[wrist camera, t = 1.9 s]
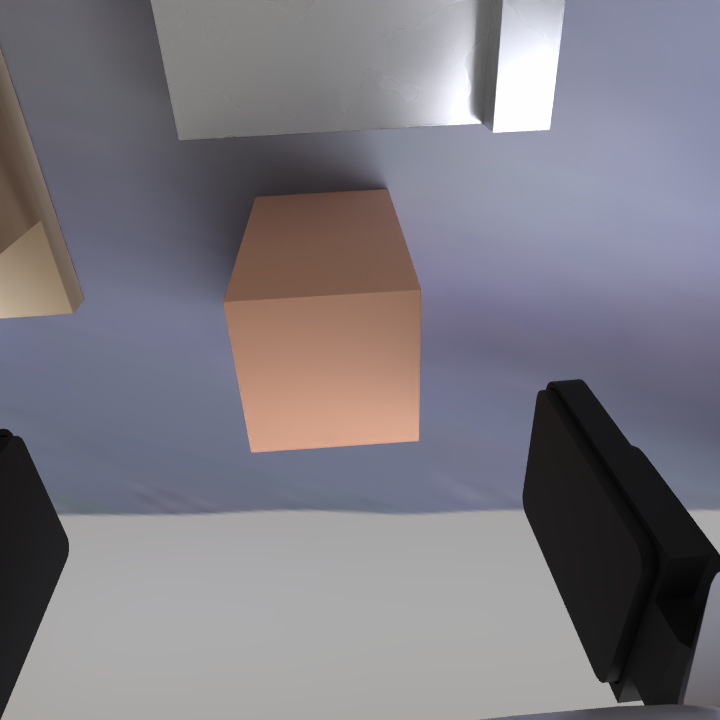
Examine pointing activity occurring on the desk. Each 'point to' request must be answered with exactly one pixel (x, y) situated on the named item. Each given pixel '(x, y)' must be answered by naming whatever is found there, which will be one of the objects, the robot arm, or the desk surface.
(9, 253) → the socket board
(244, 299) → the block
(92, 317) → the desk surface
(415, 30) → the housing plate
